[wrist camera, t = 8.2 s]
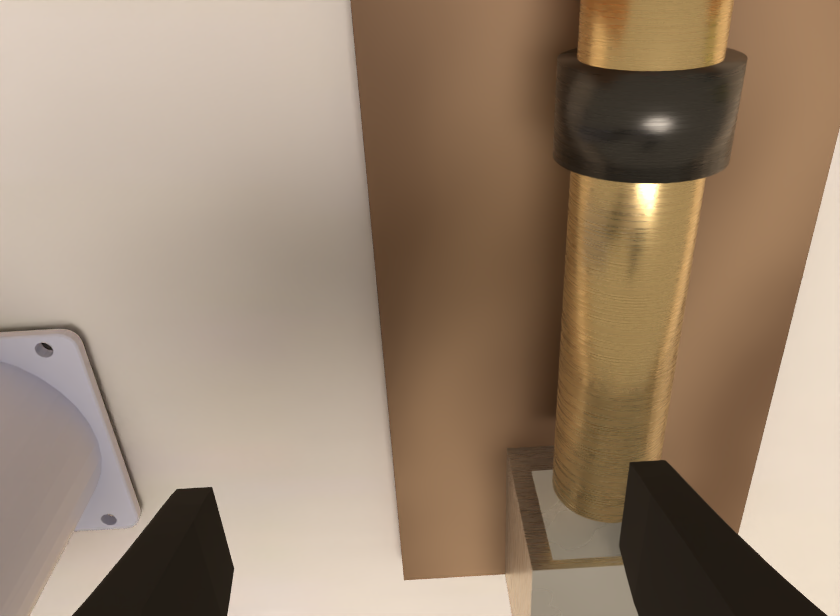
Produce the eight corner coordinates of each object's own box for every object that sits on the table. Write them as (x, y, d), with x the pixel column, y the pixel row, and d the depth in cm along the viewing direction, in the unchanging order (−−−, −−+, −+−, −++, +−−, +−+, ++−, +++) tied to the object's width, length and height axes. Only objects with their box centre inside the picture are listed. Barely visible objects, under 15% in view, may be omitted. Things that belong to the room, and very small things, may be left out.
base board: (403, 558, 26) (404, 580, 25) (313, -446, 13) (307, -472, 12) (720, 539, 26) (731, 560, 25) (958, -483, 13) (999, -511, 12)
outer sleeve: (505, 573, 25) (526, 704, 21) (506, 448, 22) (532, 571, 18) (630, 566, 25) (676, 694, 21) (649, 439, 22) (707, 560, 18)
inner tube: (528, 445, 21) (551, 538, 18) (550, -204, 13) (599, -240, 10) (646, 438, 21) (690, 530, 18) (740, -215, 13) (848, -255, 10)
